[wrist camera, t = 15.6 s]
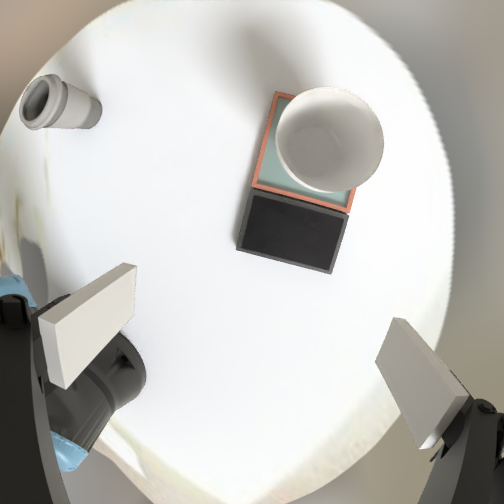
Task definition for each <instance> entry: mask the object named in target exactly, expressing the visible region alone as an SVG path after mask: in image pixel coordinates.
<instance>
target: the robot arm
mask: <svg viewBox="0 0 504 504" xmlns="http://www.w3.org/2000/svg"><path fill="white" fill-rule="evenodd" d="M136 271H137V266H135V265H131V264H127V263H122V264H120V265H119V266H117V267H115V268H114V269H112V270H110V271H109V272H107V273H106V274H104V275H102V276H101V277H99V278H97V279H96V280H94V281H93V282H91V283H89V284H88V285H86V286H85V287H83V288H82V289H80V290H78V291H77V292H75V293H74V294H72V295H70V294H68V295H65V296H61V297H59V298H57V299H55V300H54V301H52V302H51V303H49V304H47V305H46V306H45V307H43V308H41V309H40V310H38V309H37V303H35V302H34V300H33V298H32V296H31V293H30V291H29V289H28V287H27V284H26V282H25V281H24V279H23V278H21V277H20V276H18V275H6V276H2V277H0V504H70V501H69V499H68V495H67V493H66V490H65V486H64V483H63V480H62V477H61V473H60V471H66V472H68V471H73V470H75V469H76V468H77V467H78V466H79V464H80V463H81V462H82V461H83V459H84V458H85V457H87V456H88V452H89V451H90V449H91V448H92V446H93V445H94V443H95V441H96V440H97V438H98V437H99V435H100V434H101V432H102V430H103V429H104V427H105V426H106V424H107V422H108V421H109V419H110V418H111V416H112V415H113V413H114V412H115V411H116V410H118V409H119V408H121V407H123V406H124V405H126V404H127V403H129V402H130V401H132V400H133V399H135V398H136V397H137V396H138V395H139V393H140V392H141V390H142V389H143V387H144V385H145V382H146V370H145V366H144V364H143V361H142V359H141V357H140V355H139V354H138V352H137V351H136V349H135V348H134V347H133V346H132V344H131V343H130V342H129V341H128V340H127V339H126V338H124V337H123V336H122V335H121V334H119V333H118V332H119V331H120V330H121V329H122V328H123V326H124V325H125V324H126V323H127V322H128V321H129V320H130V319H131V318H132V317H133V316H134V305H135V286H136ZM375 363H376V365H377V366H378V368H379V370H380V372H381V374H382V376H383V378H384V380H385V382H386V384H387V385H388V387H389V389H390V391H391V393H392V395H393V397H394V399H395V401H396V403H397V405H398V407H399V409H400V411H401V413H402V415H403V417H404V419H405V421H406V423H407V425H408V427H409V429H410V431H411V434H412V435H413V438H414V440H415V442H416V444H417V446H418V448H419V449H425V448H431V447H434V445H435V444H436V443H437V442H438V440H439V439H440V438H441V437H442V439H443V440H444V444H443V445H442V446H441V447H440V448H439V450H438V451H437V452H436V453H435V455H434V456H433V457H432V458H431V460H430V462H432V461H433V460H434V459H435V458H436V460H435V463H434V466H433V469H432V471H431V474H430V476H429V479H428V481H427V484H426V486H425V488H424V491H423V493H422V495H421V497H420V499H419V502H418V504H504V457H503V458H502V457H501V454H502V453H503V452H504V413H497V410H496V408H495V407H494V406H493V405H492V404H491V403H489V402H488V401H486V400H484V399H475V400H474V398H473V397H472V396H471V395H470V394H469V392H468V391H467V390H466V389H465V387H464V386H463V385H462V384H461V382H460V381H459V380H458V379H457V377H455V375H454V374H453V372H452V371H451V370H449V369H448V368H447V367H446V366H445V364H444V363H443V362H442V361H441V360H440V358H439V357H438V356H437V355H436V354H435V352H434V351H433V350H432V349H431V348H430V347H429V346H428V344H427V343H426V342H425V341H424V340H423V339H422V337H421V336H420V335H419V334H418V333H417V332H416V331H415V330H414V328H413V327H412V326H411V325H410V324H409V323H408V322H407V321H406V320H405V319H401V318H394V317H393V319H392V322H391V325H390V327H389V330H388V332H387V335H386V337H385V340H384V342H383V344H382V347H381V349H380V351H379V354H378V356H377V358H376V360H375Z"/></svg>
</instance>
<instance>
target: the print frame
mask: <svg viewBox="0 0 504 504" xmlns="http://www.w3.org/2000/svg"><path fill="white" fill-rule="evenodd" d="M295 97H296V96H294V95H290V94H285V93H281V92H277V91H275V94H274V98H273V102H272V106H271V110H270V114H269V118H268V122H267V125H266V129H265V133H264V137H263V141H262V145H261V149H260V153H259V157H258V161H257V165H256V169H255V173H254V177H253V181H252V185H251V187H255V188H259V189H263V190H267V191H271V192H275V193H278V194H282V195H286V196H290V197H294V198H297V199H301V200H305V201H308V202H312V203H315V204H319V205H323V206H326V207H329V208H333V209H336V210H340V211H343V212H346V213H350V209H351V206H352V202H353V198H354V195H355V191H356V187H355V188H353V189H350V190H346V191H340V192H333V193H325V192H318V191H314V190H311V189H308V188H306V187H304V186H302V185H301V184H299V183H298V182H296V181H295V180H294V179H293V178H292V177H291V176H290V175H289V174H288V173H287V172H286V170H285V169H284V168H283V166H282V164H281V162H280V160H279V158H278V155H277V151H276V145H275V135H276V129H277V126H278V123H279V120H280V118H281V115H282V113H283V111H284V110H285V108H286V107H287V105H288V104H289V103H290V102H291V101H292V100H293V99H294V98H295Z"/></svg>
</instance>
